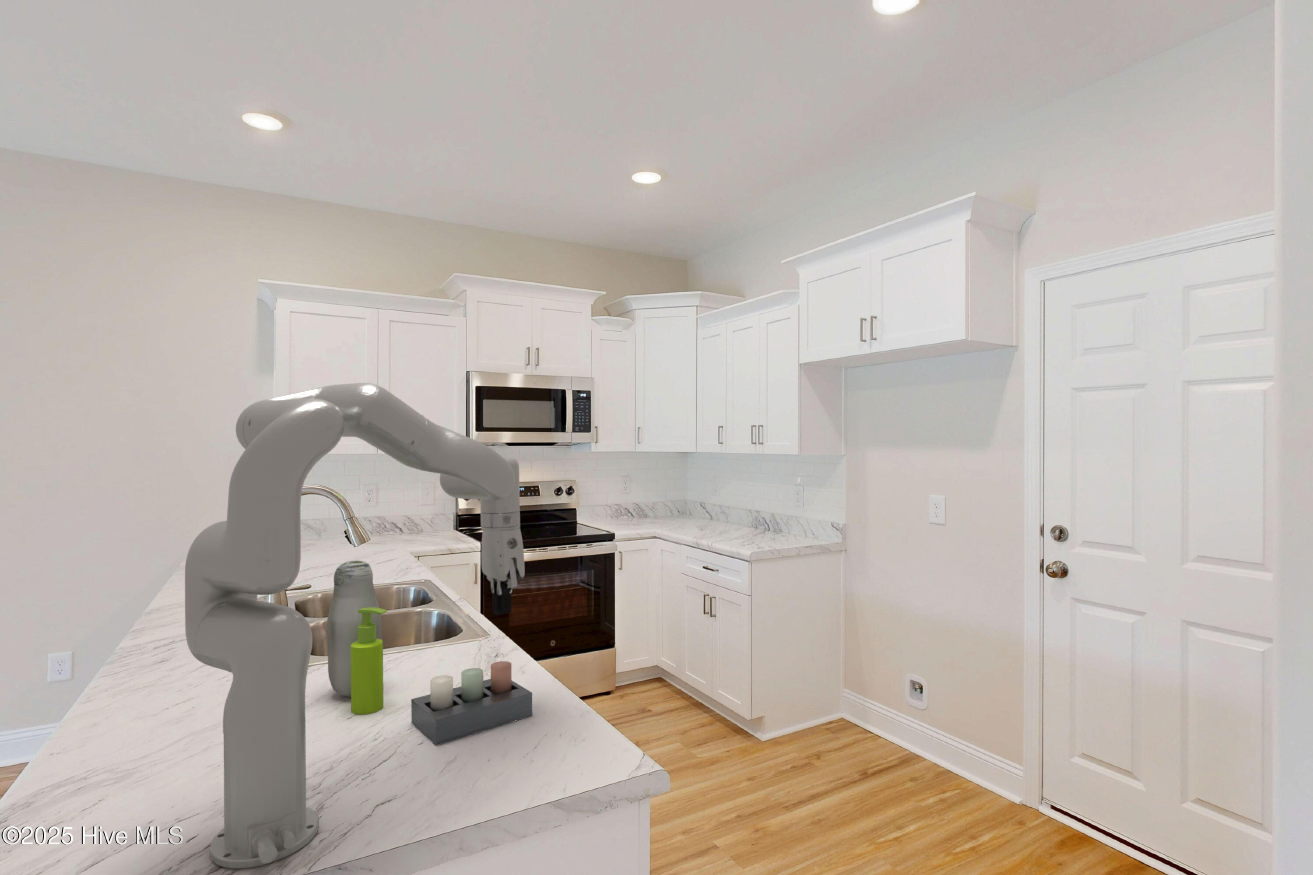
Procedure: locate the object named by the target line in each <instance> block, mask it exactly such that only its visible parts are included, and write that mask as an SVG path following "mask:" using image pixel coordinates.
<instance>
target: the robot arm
mask: <svg viewBox="0 0 1313 875" xmlns="http://www.w3.org/2000/svg"><path fill="white" fill-rule="evenodd" d="M235 435H236V438H237V440H238V443H239V445H240V446H241V447H242V448H243V449H244V451H243V452H242V454H241V456H240V457H239V458H238V460H237V462H236V463H235V466H234V468H233V471H232V473H231V476H230V480H229V486H228V494H227V495H228V496H227V498H228V499H227V510H226V513H227V515H226V520H222V521H219V522H215V523H213V524H211V525H209V526H207V527H206V528H204V529H203V530H202V531H201V532H200V533H198V535H197V536H196V537H195V538H194V540H193V541H192V542H191V545H190V547H189V550H188V551H187V552H188V553H187V555H186V560H185V566H184V568H185V569H184V626H185V630H184V632H185V639H186V644H187V647H188V649H189V651H190V654H192V656H193V657H194V658H195V659H196V660H197V661H199V662H200V663H202V664H203V665H206V666H208V667H212V668H215V669H219V670H221V671H227V672H228V673H232V681H231V685H230V688H229V691H228V693H227V696H226V699H225V702H224V708H223V716H222V733H223V810H224V811H223V816H224V820H223V827H224V828H222V829H221V830H220V831H219V832H218V833H216V835H215V836H214V837H213V839H212V841H211V842H210V847H209V857H210V859H211V861H212V862H213V863H215V864H216V865H217V866H220V867H224V868H227V869H228V868H229V869H247V868H254V867H255V868H256V867H258V866H263V865H267V864H271V863H273V862H276V861H279V860H281V859H283V858H286V857H288V856H290V855H292V854H294V853H296V852H297V851H299V850H300V849H302V848H304V846H306V845H307V844H308V843H310V841H311V840H312V839H313V838H314V837H315V836H316V834H317V832H318V831H319V830H318V829H319V827H320V826H319V825H320V824H319V823H320V822H319V821H320V820H319V819H320V818H319V814H318V813H317V812H316V811H315V810H314V809H312V808H310V807H307V766H306V763H307V762H306V761H307V760H306V759H307V758H306V757H307V756H306V753H307V752H306V750H307V748H306V746H307V745H306V744H307V743H306V742H307V741H306V740H307V739H306V738H307V735H306V732H307V731H306V730H307V729H306V689H307V688H306V685H307V677H308V676H307V675H308V669H309V664H310V659H311V655H312V654H311V653H312V649H313V631H312V628H311V625H310V623H309V621H308V620H307V618H306V617H305V616H304V615H303V614H302V613H301V612H299V611H298V610H296V609H294V608H292V607H291V606H286V605H284V604H280V603H275V602H274V603H273V602H268V601H263V600H258V596H271V595H275V594H279V593H281V592H284V591H285V590H288V588H290V587H291V586H292V585H293V584H294V582H295V581H296V579H297V577H298V575H299V572H300V567H301V557H302V552H301V550H302V549H301V548H302V547H301V546H302V545H301V541H302V540H301V538H302V537H301V535H302V534H301V531H302V530H301V526H302V525H301V523H302V522H301V505H302V504H301V503H302V492H303V486H304V484H305V480H306V479H307V477H308V475H309V473H310V472H311V471H312V469H313V467H315V465H316V464H318V462H319V461H320V460H321V459H322V458H323V457H325V456H326V455H327V454H329V453H331V451H332V450H334V448H336V446H337V445H338V444H339V442H340V441H341V439H342V437H343V438H345V437H347V438H348V437H351V438H352V437H353V438H358V439H360V440H362V441H363V442H366V443H368V444H369V445H370V446H372V447H374V448H376V449H377V450H379V451H381V452H382V453H384V454H386V455H387V456H389V457H391V458H392V459H394V460H396V462H399V463H400V464H401V465H404V466H406V467H409V468H412V469H416V470H419V471H423V472H428V473H434V474H439V483H440V487H441V489H442V491H444V493H446V494H447V495H448V496H450V497H452V498H456V499H460V500H461V499H465V500H480V530H482V533H481V534H482V535H481V536H482V537H481V549H480V550H481V551H480V553H481V554H480V555H481V556H480V558H481V561H480V562H481V572H482V573H483V574H484V575H485V576H486V579H487V580H488V581H489V583H490V590H491V593H492V597H491V598H492V614H494V615H496V616H501V615H506V614H510V613H512V593H513V589H514V588H517V587H518V579H523V578H524V577H525V573H526V572H525V568H526V567H525V555H524V543H523V542H524V541H523V537H522V532H521V514H520V513H521V511H520V510H521V509H520V507H521V506H520V503H521V501H520V500H521V499H520V494H521V493H520V464H519V462H518V460H517V459H515V458H513V457H504V456H502V455H501V454H499V453H498V452H496V450H494V449H492V448H491V447H490V446H488V445H486V444H484V443H482V442H481V441H478V440H476V439H473V438H471V437H469V436H466V435H463V434H460V433H459V432H456V431H453V430H452V429H449V428H447V427H444V426H441V425H439V424H436V423H434V422H433V421H431V420H430V419H428V418H427V417H425V416H424V415H423V414H421V413H420V412H418V411H417V410H415V409H414V408H413V407H411V406H410V405H408V404H407V403H406V402H404V401H403V400H402V399H400V398H398V397H397V396H395V394H393V393H391V392H390V391H389V390H388V389H386V388H384V387H382V386H380V385H378V384H375V383H369V382H358V383H344V384H343V383H342V384H333V385H332V384H331V385H326V386H321V387H317V388H313V389H308V390H304V391H300V392H296V393H290V394H286V395H281V396H277V397H272V398H267V399H262V400H259V401H256V402H254V403H251V404H249V405H248V406H247V407H246V408H245V409H243V411H241V413H240V414H239V416H238V419H237V420H236V424H235ZM517 578H518V579H517Z"/></svg>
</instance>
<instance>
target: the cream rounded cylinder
mask: <svg viewBox="0 0 1313 875" xmlns="http://www.w3.org/2000/svg"><path fill="white" fill-rule="evenodd" d="M429 683H430V684H429V685H430V686H429V687H430V689H429V690H430V692H429V693H430V708H431V709H432V710H436V711H439V710H443V709H446V708H450V707H452V706H453V688H454V677H453V676H452V675H446V674H445V675H438V676H434V677H431V679H430V682H429Z"/></svg>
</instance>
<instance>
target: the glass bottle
mask: <svg viewBox="0 0 1313 875" xmlns="http://www.w3.org/2000/svg"><path fill="white" fill-rule="evenodd" d="M373 579H374V574H373V570H372V567H371V565H370V564H369V563H368V562H367V561H363V560H350V561H346V562H344V563H341V564H340V565H338V566H337V568H336V569H335V571H334V574H333V593H332V598H331V601H330V606H329V609H328V610H329V611H328V614H327V619H326V643H327V673H328V674H327V675H328V679H329V683H330V685H331V688H332V690H333V691H334V692H335V693H336V694H337V695H339V696H341V697H348V698H349V697H350V698H351V644H352V643H354V642H356V641H358V626H359V625H360V624H362V613H358V610H359V609H362V608H368V607H376V608H381V607H380V604H379V601H378V598H377V596H376V590H375V586H374V580H373ZM382 618H383V617H382V614H381V615H379V614H375V613H371V622H372V623H374V624H376V639H381V640H382V641H383V639H382V638H383V637H382V636H383V635H382V634H383V628H382V627H383V625H382V624H383V622H382V621H383V620H382Z"/></svg>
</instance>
